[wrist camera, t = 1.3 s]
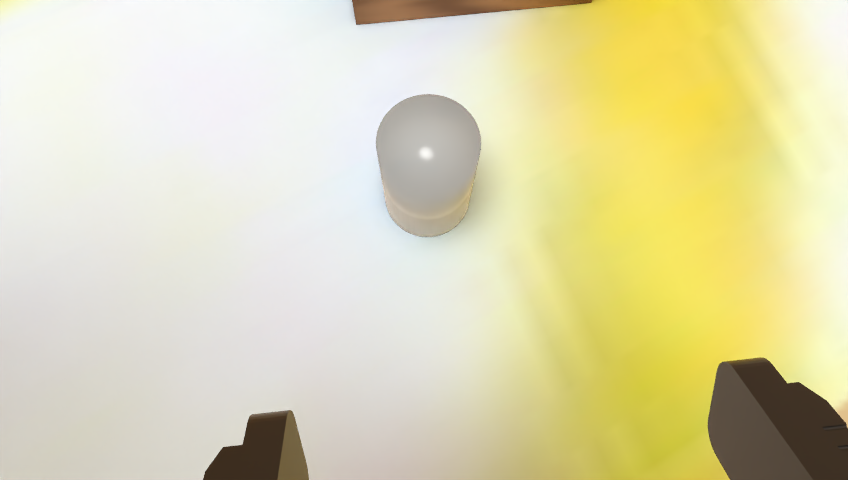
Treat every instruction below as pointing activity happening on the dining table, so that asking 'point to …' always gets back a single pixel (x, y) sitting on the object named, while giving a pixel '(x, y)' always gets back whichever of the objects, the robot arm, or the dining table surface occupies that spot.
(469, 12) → the walnut block
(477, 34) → the dining table surface
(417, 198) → the domed grey cylinder
